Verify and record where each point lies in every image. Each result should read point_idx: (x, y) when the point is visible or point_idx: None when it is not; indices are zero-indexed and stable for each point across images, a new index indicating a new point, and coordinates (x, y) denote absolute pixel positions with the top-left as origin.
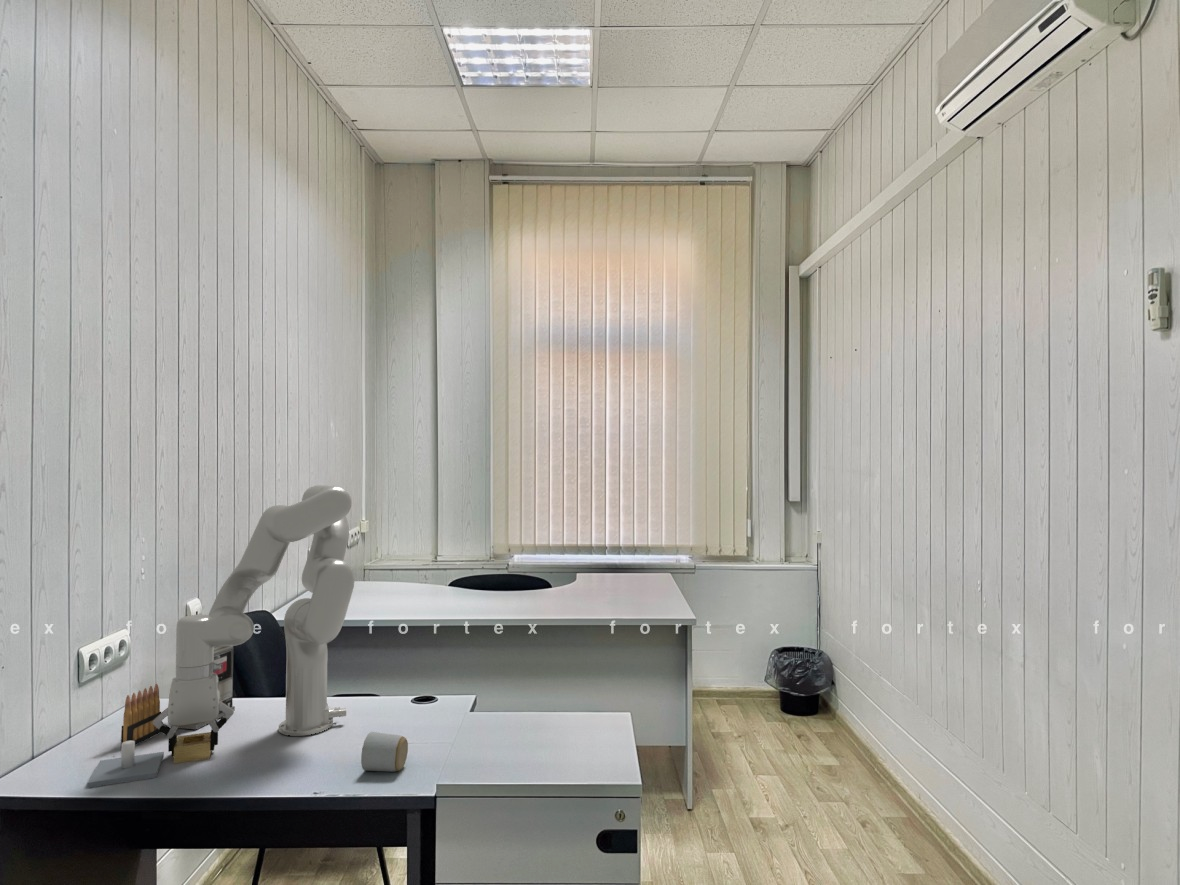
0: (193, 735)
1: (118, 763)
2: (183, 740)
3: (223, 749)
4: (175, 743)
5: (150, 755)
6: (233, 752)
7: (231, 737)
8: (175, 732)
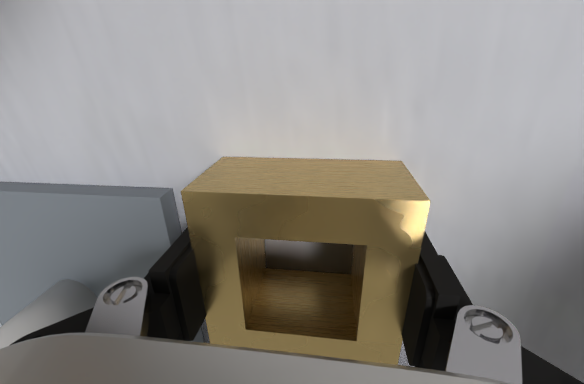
0: (290, 222)
1: (22, 253)
2: (239, 284)
3: (457, 222)
4: (205, 313)
5: (114, 221)
6: (496, 282)
7: (562, 3)
8: (161, 318)
